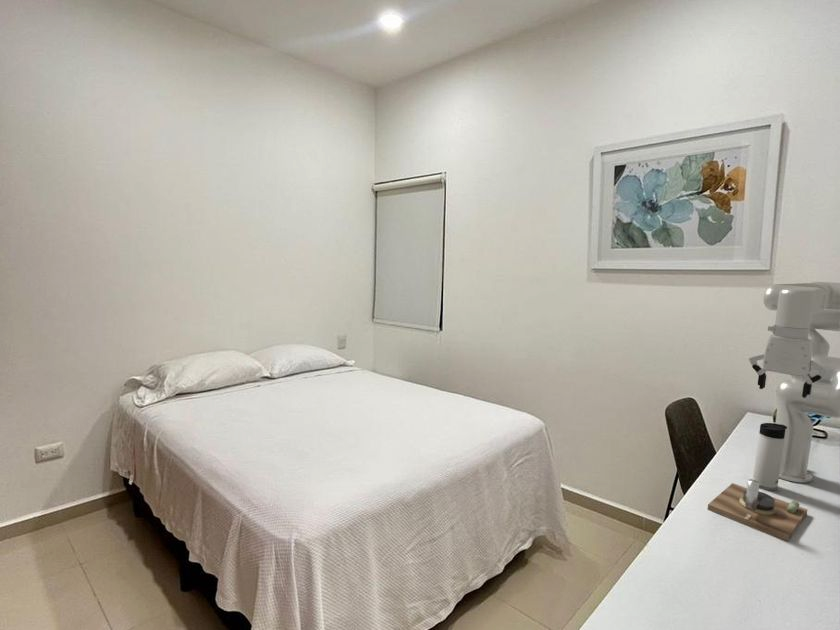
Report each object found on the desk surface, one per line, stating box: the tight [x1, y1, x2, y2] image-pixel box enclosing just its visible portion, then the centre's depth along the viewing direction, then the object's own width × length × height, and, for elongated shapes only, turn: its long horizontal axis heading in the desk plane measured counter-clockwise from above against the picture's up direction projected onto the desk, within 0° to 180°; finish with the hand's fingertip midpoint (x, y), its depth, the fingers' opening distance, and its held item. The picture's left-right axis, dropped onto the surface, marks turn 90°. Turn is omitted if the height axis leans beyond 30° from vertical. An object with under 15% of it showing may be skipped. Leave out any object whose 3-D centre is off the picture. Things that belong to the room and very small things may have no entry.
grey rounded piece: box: [743, 478, 775, 511], centre depth 124 cm, size 7×13×9 cm, turn 130°
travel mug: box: [752, 422, 787, 492], centre depth 140 cm, size 6×7×20 cm
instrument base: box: [707, 482, 808, 543], centre depth 127 cm, size 20×18×3 cm
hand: (782, 392), depth 129 cm, fingers open, 9 cm apart
